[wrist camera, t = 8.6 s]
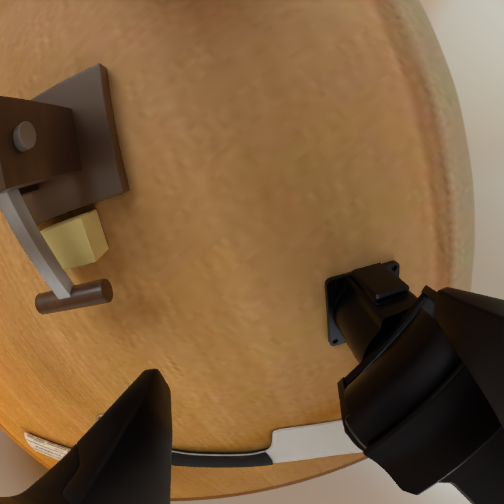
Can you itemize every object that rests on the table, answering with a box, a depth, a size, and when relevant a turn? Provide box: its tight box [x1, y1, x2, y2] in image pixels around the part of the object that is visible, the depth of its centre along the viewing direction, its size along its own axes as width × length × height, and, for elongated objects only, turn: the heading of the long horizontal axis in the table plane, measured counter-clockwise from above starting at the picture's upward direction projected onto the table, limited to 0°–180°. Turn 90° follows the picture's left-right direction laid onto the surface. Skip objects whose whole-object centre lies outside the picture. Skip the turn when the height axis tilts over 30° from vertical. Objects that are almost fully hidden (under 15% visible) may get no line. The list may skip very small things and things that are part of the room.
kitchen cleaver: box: [171, 420, 363, 467], centre depth 28 cm, size 31×2×10 cm
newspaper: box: [24, 432, 71, 460], centre depth 27 cm, size 24×7×2 cm, turn 86°
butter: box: [40, 209, 109, 270], centre depth 16 cm, size 3×4×2 cm
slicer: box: [0, 64, 129, 225], centre depth 11 cm, size 9×10×9 cm
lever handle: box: [0, 189, 113, 314], centre depth 11 cm, size 12×6×2 cm, turn 12°
